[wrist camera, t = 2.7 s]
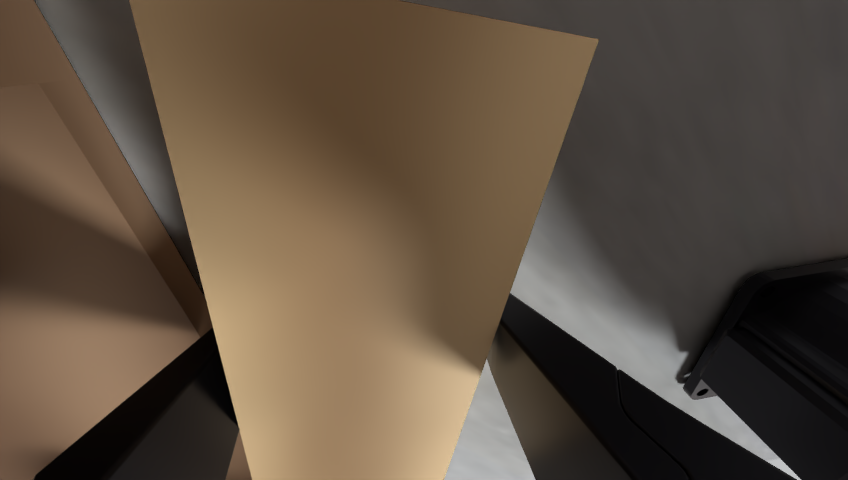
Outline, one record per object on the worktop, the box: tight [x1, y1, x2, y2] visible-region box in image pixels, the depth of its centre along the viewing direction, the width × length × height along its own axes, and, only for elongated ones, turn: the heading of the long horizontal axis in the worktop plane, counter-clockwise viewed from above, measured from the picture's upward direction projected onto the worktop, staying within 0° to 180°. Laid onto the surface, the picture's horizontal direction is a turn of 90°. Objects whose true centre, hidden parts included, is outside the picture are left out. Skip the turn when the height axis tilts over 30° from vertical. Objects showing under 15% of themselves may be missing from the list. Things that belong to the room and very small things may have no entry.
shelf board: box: [129, 0, 599, 480], centre depth 8 cm, size 5×12×3 cm, turn 172°
